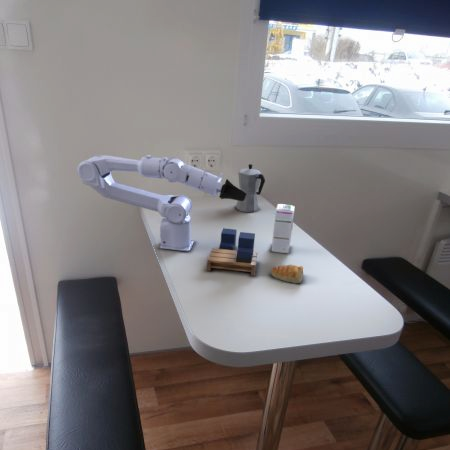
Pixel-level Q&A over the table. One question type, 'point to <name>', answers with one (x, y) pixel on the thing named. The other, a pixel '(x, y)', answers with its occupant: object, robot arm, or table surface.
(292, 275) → the pastry
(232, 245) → the blue block
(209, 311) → the table surface
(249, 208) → the coffeepot
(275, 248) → the syrup box
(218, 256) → the shoe rack
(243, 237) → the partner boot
